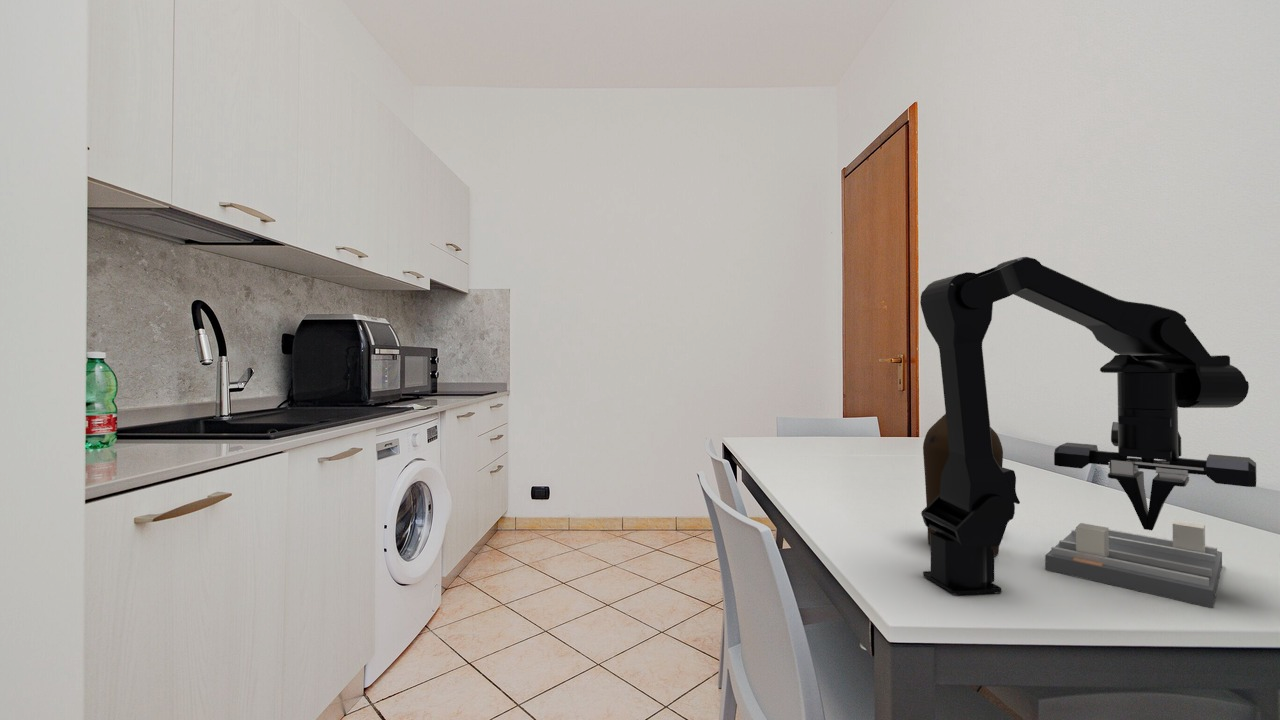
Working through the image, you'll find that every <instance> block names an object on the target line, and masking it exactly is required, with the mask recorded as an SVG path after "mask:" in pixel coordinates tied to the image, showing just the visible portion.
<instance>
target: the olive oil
mask: <svg viewBox="0 0 1280 720" xmlns="http://www.w3.org/2000/svg"><path fill="white" fill-rule="evenodd" d="M990 429H991V439H992V449H993V455H994V458H995V460H996V461H997V463H998V465H999V466H1000V467H1003V461H1004V459H1003V458H1004V449H1003V445H1002V442H1001V439H1000V437H999V435H998V434H997V431H995V430H994V429H993V428H992V427H991V426H990ZM922 453H923V455H922V456H923V467H924V468H923V469H924V481H925V482H924V483H925V484H924V485H925V497H926V499H925V503H926V507H927V506H928V505H929V504H930V503H931V502H932V501H933V500H934V499H935V498H936V497H937V496H938V495H939V494H940V485H941V473H942V471H943V469H944V466H945V464H946V462H947V460H948V457H949V441H948V431H947V421H946V413H944V414H943V415H942V416H941V417H940V418H939V419H937V421H936V422H935V423H934V424H932V426H931V427H929V429H927V432H926V434H925V437H924V440H923V445H922ZM926 527H927V526H926ZM935 532H936V531H935V530H933V529H932V528H928V527H927V542H928V545H929V546H930V533H935ZM992 549H993V550H994V557H996V556H998V555H999V552H1000V545H999V546H992Z"/></svg>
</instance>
